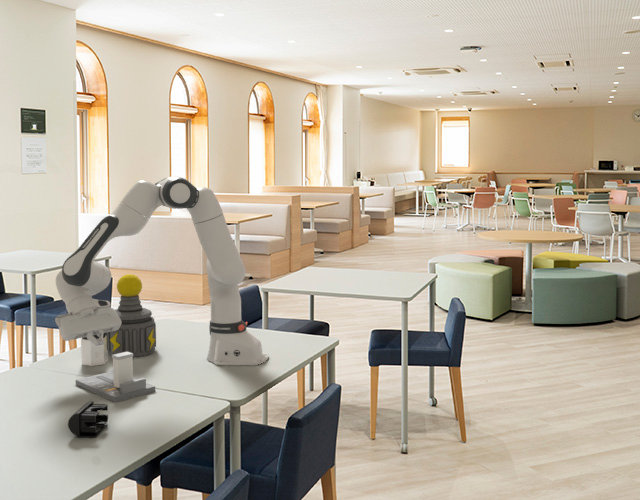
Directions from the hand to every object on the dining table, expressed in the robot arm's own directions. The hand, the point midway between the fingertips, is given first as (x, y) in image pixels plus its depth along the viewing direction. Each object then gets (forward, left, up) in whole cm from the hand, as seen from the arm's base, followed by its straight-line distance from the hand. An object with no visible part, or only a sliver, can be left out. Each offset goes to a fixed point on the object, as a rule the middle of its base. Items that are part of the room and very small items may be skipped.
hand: (99, 344), depth 220 cm
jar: (+13, -19, -13) cm, 26 cm away
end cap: (-19, +39, -13) cm, 45 cm away
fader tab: (-12, +8, -10) cm, 18 cm away
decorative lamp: (+7, -35, -13) cm, 38 cm away
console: (-8, +5, -12) cm, 16 cm away
